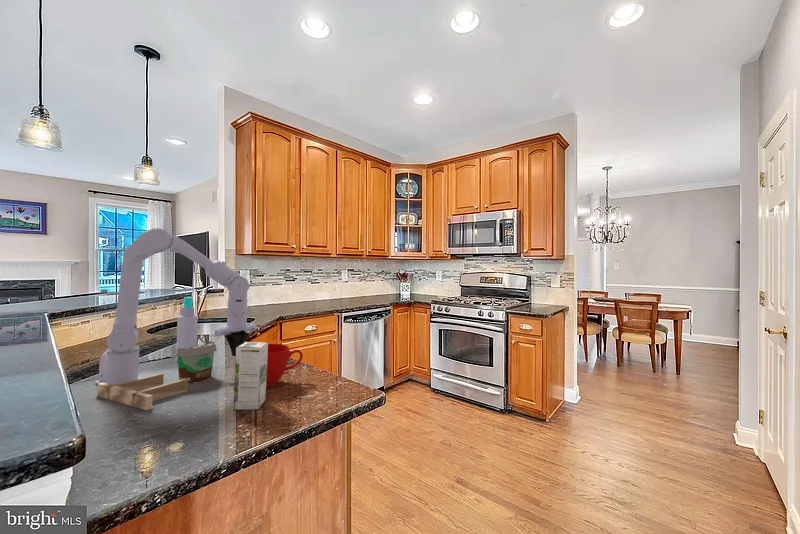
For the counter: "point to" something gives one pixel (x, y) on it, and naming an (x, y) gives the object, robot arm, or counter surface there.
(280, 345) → the ceramic cup
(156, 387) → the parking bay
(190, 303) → the spray bottle
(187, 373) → the food container
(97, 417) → the counter surface
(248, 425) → the counter surface
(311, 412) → the counter surface
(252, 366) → the syrup box
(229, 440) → the counter surface
